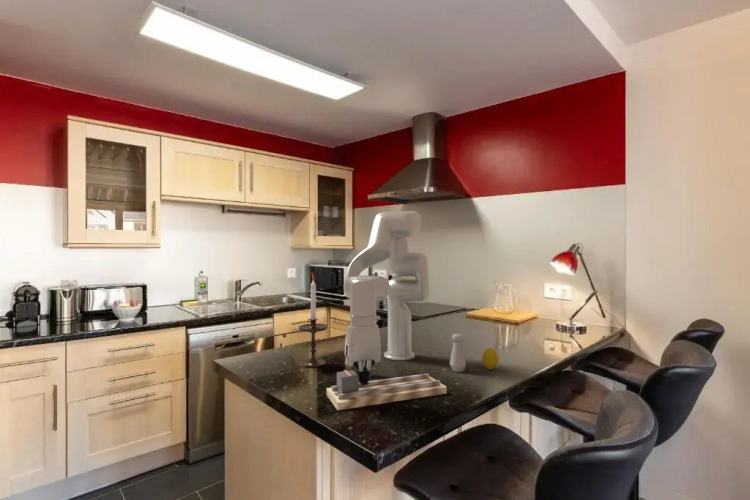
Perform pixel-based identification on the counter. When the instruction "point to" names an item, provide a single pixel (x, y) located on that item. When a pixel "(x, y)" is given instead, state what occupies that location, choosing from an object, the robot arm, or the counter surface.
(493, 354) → the lemon
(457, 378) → the counter surface
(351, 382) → the fader knob
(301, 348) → the counter surface
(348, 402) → the fader board
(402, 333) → the robot arm
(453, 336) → the salt shaker
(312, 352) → the candlestick
